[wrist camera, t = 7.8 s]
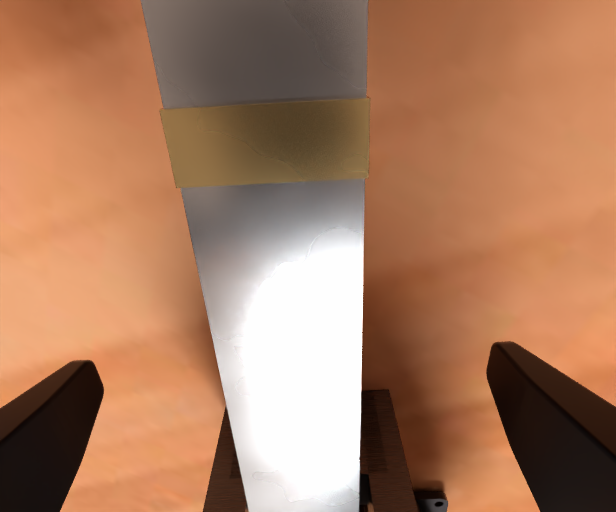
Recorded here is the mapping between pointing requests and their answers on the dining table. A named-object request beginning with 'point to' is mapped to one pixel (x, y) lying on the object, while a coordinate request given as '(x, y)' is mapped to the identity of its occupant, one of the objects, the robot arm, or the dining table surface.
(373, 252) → the dining table surface
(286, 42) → the grey metal bar
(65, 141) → the dining table surface
